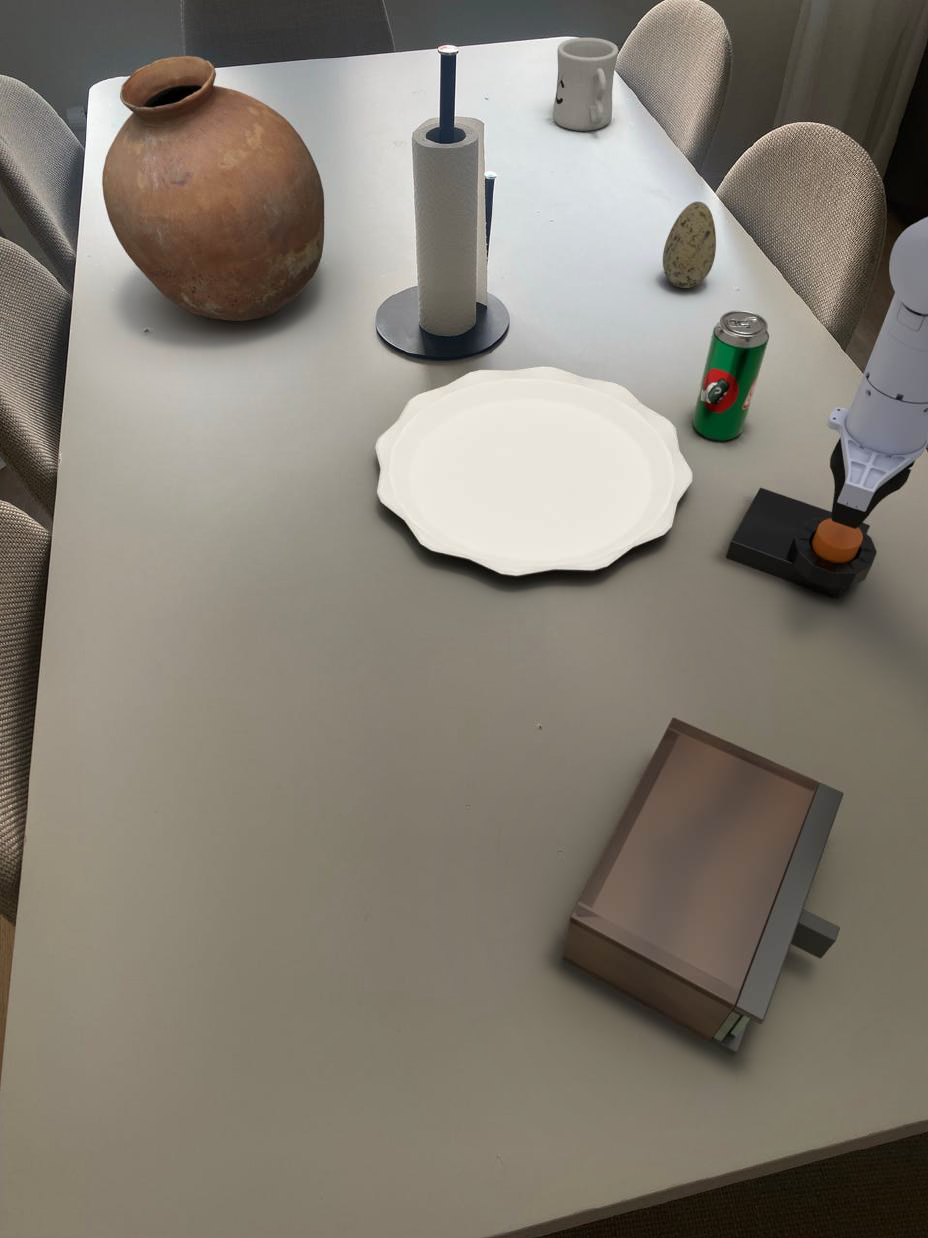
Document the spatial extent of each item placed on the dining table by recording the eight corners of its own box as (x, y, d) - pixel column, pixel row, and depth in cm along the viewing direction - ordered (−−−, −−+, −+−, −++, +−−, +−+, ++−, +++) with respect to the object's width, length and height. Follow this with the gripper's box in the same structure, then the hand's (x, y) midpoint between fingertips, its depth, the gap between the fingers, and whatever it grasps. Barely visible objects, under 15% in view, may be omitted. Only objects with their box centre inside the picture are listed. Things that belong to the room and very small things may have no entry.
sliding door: (821, 944, 58) (846, 913, 54) (782, 1062, 53) (806, 1038, 49) (772, 920, 59) (793, 887, 55) (730, 1033, 54) (749, 1007, 50)
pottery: (360, 263, 114) (337, 36, 94) (288, 369, 99) (243, 127, 80) (194, 239, 118) (140, 18, 99) (102, 338, 104) (17, 101, 84)
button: (861, 542, 77) (868, 527, 75) (849, 569, 75) (856, 554, 74) (818, 527, 78) (824, 512, 77) (806, 553, 76) (812, 538, 75)
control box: (876, 547, 81) (892, 514, 78) (848, 616, 76) (864, 584, 73) (754, 504, 85) (765, 471, 82) (720, 567, 80) (730, 535, 77)
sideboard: (812, 842, 63) (844, 792, 58) (735, 1056, 54) (763, 1021, 49) (656, 769, 67) (673, 716, 62) (560, 959, 58) (569, 916, 53)
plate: (373, 394, 96) (371, 374, 95) (646, 377, 98) (650, 358, 96) (382, 602, 78) (380, 583, 76) (720, 578, 79) (726, 559, 77)
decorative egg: (655, 294, 108) (669, 212, 101) (660, 269, 112) (674, 187, 104) (706, 301, 108) (724, 218, 100) (709, 275, 111) (727, 193, 104)
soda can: (746, 444, 91) (777, 338, 82) (695, 444, 91) (720, 338, 82) (737, 412, 94) (766, 307, 85) (688, 412, 94) (711, 307, 85)
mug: (544, 111, 143) (548, 39, 135) (599, 105, 144) (607, 33, 136) (569, 144, 135) (575, 70, 127) (627, 138, 136) (636, 64, 129)
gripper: (875, 312, 69) (822, 453, 79) (820, 417, 61) (769, 558, 71) (973, 339, 66) (905, 480, 77) (929, 451, 58) (860, 591, 69)
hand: (845, 519), depth 74 cm, fingers closed
